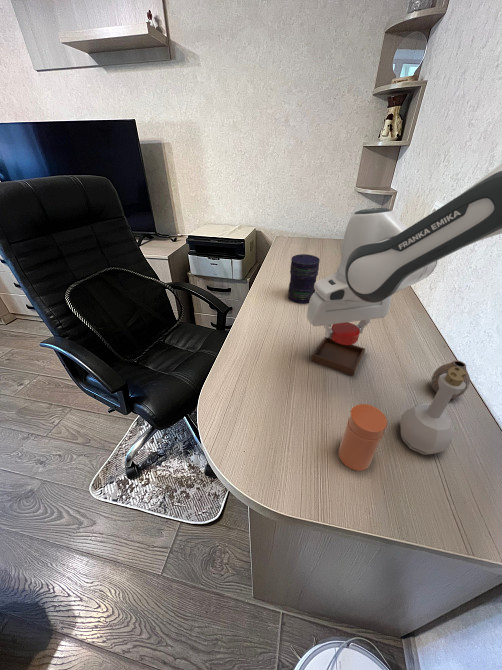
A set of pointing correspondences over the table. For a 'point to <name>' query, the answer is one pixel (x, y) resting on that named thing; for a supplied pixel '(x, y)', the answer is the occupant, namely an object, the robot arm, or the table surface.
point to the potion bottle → (433, 417)
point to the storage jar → (303, 278)
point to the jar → (362, 436)
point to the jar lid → (345, 333)
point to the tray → (338, 356)
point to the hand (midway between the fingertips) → (343, 334)
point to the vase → (445, 369)
